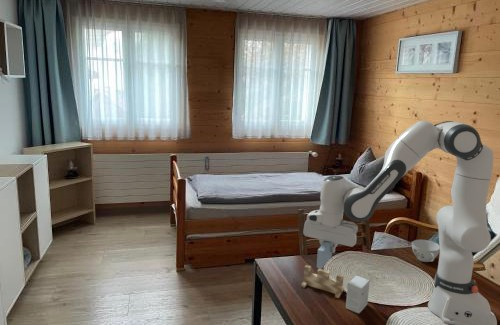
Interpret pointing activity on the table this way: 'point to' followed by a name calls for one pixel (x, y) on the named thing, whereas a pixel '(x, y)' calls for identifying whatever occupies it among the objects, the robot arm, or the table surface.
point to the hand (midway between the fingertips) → (328, 251)
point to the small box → (357, 294)
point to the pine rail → (323, 281)
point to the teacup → (425, 250)
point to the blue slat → (324, 254)
